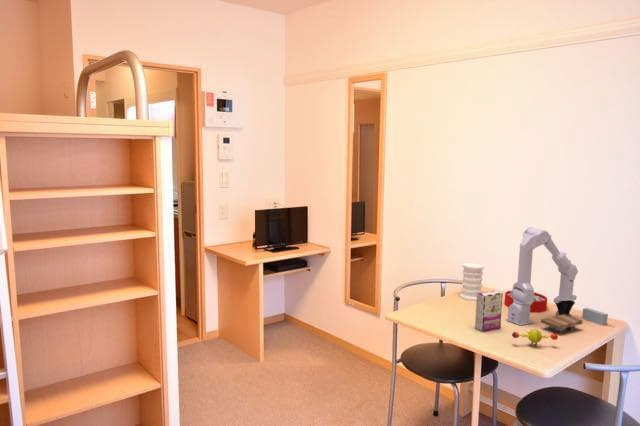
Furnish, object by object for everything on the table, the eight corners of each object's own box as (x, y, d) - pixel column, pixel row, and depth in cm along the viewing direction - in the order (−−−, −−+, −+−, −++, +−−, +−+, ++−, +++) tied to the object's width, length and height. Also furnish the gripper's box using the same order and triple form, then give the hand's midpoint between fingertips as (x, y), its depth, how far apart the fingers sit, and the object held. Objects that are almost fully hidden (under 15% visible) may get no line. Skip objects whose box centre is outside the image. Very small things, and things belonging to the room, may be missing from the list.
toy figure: (553, 344, 195) (554, 328, 194) (559, 349, 189) (560, 333, 188) (508, 342, 195) (510, 326, 194) (513, 347, 190) (515, 331, 189)
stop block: (602, 325, 219) (604, 315, 218) (582, 318, 228) (583, 308, 227) (606, 324, 220) (607, 314, 220) (585, 317, 229) (586, 307, 228)
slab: (559, 329, 204) (559, 325, 204) (541, 322, 212) (541, 319, 211) (582, 323, 211) (582, 320, 211) (563, 317, 219) (563, 314, 219)
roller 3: (570, 331, 210) (571, 324, 210) (558, 326, 216) (558, 320, 215) (574, 330, 212) (575, 323, 212) (562, 325, 217) (563, 319, 217)
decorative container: (459, 293, 263) (461, 262, 261) (481, 295, 260) (483, 263, 258) (460, 299, 252) (462, 266, 250) (482, 302, 249) (485, 268, 247)
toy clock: (519, 288, 258) (555, 297, 241) (518, 298, 258) (554, 309, 242) (497, 293, 246) (533, 304, 230) (496, 304, 247) (532, 315, 231)
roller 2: (560, 333, 207) (561, 326, 207) (548, 328, 212) (549, 322, 212) (565, 332, 208) (565, 325, 208) (552, 327, 214) (553, 321, 213)
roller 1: (567, 321, 224) (567, 314, 223) (555, 317, 229) (556, 311, 228) (571, 320, 225) (571, 313, 225) (559, 316, 230) (560, 310, 230)
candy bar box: (491, 324, 215) (494, 289, 213) (500, 328, 211) (503, 292, 209) (473, 328, 210) (476, 292, 208) (482, 332, 206) (485, 295, 204)
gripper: (564, 291, 218) (561, 320, 220) (583, 288, 225) (580, 316, 227) (550, 288, 224) (548, 315, 226) (569, 284, 231) (567, 311, 233)
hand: (563, 315), depth 227 cm, fingers closed on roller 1, 3 cm apart
